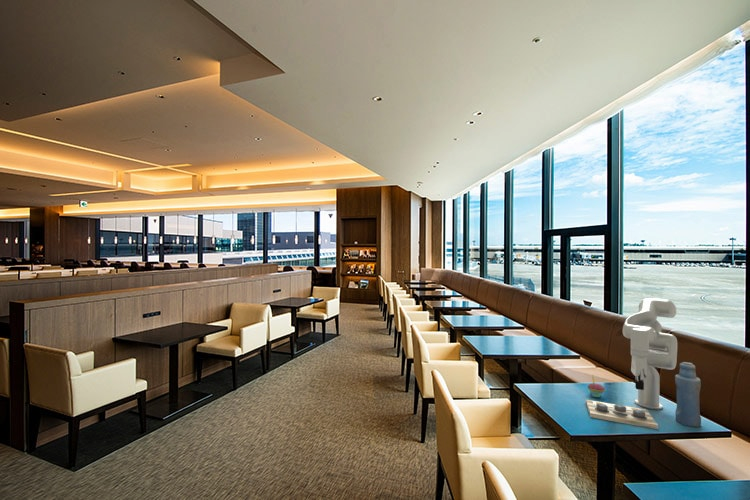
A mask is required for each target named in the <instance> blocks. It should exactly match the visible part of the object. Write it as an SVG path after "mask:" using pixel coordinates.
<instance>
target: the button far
mask: <svg viewBox="0 0 750 500" xmlns="http://www.w3.org/2000/svg"><path fill="white" fill-rule="evenodd" d="M596 408H597V409H598V410H600V411H608V406H607V405H604V404H596Z"/></svg>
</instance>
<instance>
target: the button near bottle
mask: <svg viewBox="0 0 750 500" xmlns="http://www.w3.org/2000/svg"><path fill="white" fill-rule="evenodd" d="M633 415H634V416H636V417H640V418H645V412H643V411H641V410H633Z"/></svg>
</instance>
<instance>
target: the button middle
mask: <svg viewBox="0 0 750 500" xmlns="http://www.w3.org/2000/svg"><path fill="white" fill-rule="evenodd" d="M625 406H626V405H622V404H616V405H614V409H615V410H616V411H618V412H626V407H625Z"/></svg>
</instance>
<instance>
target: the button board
mask: <svg viewBox="0 0 750 500" xmlns="http://www.w3.org/2000/svg"><path fill="white" fill-rule="evenodd" d="M592 401H593V400H591V399H585V404H586V409H587V410H588V414H589V416H590V418H592V419H593V418H594V419H599V420H606V421H611V422H616V423H622V424H627V425H632V426H637V427H643V428H648V429H653V430H659V424H658V423H657V422H656V421H655V419H654V418H653V416H652V415H651V414H650V412H649V411H648V409H647V408H640V407H639V408H638V407H637V408H638V409H641V410H642V411H643V412H645V418H640V417H636V416H634V415H633V411H628V410H626V412H618V411H616V410H615V409H614V408H610V407H608V411H600V410H598V409H597V408H596V405H594V404H593V402H592ZM595 401H596V402H599V401H597V400H595ZM602 403H605V402H603V401H602ZM607 403H608V404H611V403H609V402H607ZM613 404H614V405H616V404H615V403H613ZM625 406H626V407H629V406H628V405H625ZM631 407H632V408H635V407H633V406H631Z"/></svg>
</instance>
